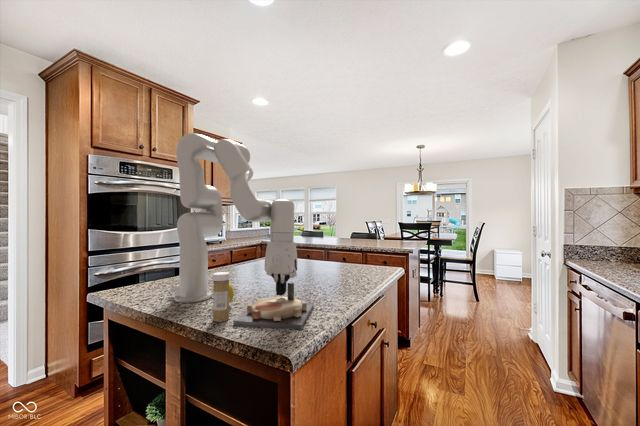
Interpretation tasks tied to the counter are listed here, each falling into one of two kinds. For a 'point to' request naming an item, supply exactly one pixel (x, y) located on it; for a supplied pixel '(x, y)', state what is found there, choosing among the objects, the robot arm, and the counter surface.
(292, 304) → the sprocket dial
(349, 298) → the counter surface
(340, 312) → the counter surface
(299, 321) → the dial base
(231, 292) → the lemon
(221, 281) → the sprinkles bottle
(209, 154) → the robot arm
